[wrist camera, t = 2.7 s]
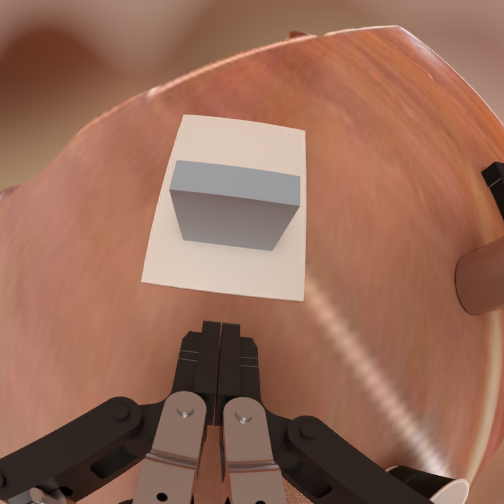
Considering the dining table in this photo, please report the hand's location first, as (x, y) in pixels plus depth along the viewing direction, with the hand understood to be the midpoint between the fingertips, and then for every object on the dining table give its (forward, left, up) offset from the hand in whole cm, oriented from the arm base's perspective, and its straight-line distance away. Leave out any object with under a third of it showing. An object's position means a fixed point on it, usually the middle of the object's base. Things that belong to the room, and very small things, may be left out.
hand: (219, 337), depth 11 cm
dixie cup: (-14, +24, -15) cm, 32 cm away
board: (-5, -15, -15) cm, 22 cm away
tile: (-4, -10, -15) cm, 18 cm away
